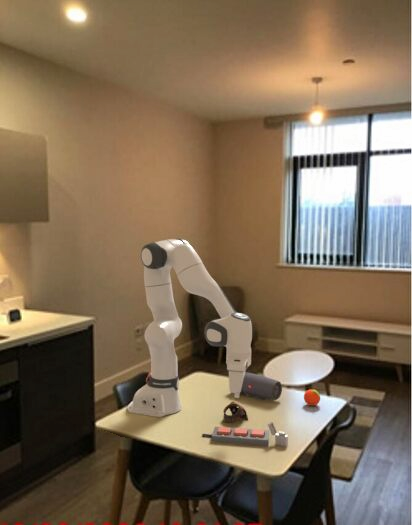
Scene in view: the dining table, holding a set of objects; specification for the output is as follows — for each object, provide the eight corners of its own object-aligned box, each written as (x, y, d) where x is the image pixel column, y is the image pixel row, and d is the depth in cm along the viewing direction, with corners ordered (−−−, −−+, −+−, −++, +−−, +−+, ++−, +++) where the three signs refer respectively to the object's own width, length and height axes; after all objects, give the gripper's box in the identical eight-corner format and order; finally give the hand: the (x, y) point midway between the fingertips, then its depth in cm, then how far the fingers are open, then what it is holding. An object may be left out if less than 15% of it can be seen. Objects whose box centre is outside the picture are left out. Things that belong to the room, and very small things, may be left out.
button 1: (217, 439, 175) (217, 431, 174) (218, 434, 178) (218, 427, 178) (229, 440, 174) (229, 432, 174) (230, 435, 177) (230, 427, 177)
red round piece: (325, 406, 208) (325, 390, 207) (314, 410, 204) (315, 394, 203) (310, 401, 214) (311, 385, 214) (300, 404, 210) (300, 388, 210)
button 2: (234, 440, 174) (234, 432, 173) (235, 436, 177) (235, 428, 177) (246, 441, 173) (246, 433, 173) (247, 437, 176) (247, 429, 176)
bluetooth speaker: (229, 393, 224) (229, 372, 223) (241, 388, 231) (241, 367, 230) (271, 405, 209) (271, 383, 208) (282, 399, 216) (282, 377, 215)
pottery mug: (253, 425, 190) (245, 410, 186) (231, 437, 189) (223, 422, 186) (244, 407, 201) (236, 392, 197) (223, 417, 200) (216, 403, 197)
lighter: (287, 447, 171) (288, 425, 170) (286, 449, 169) (286, 426, 169) (268, 442, 174) (269, 421, 173) (267, 444, 173) (267, 422, 172)
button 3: (250, 441, 173) (251, 433, 172) (251, 437, 176) (251, 429, 176) (263, 442, 172) (263, 434, 172) (263, 438, 176) (264, 430, 175)
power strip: (200, 443, 173) (200, 434, 173) (204, 433, 181) (204, 425, 181) (268, 448, 170) (268, 439, 169) (269, 438, 177) (269, 429, 177)
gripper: (232, 350, 184) (231, 385, 186) (226, 366, 164) (225, 406, 165) (249, 351, 183) (248, 387, 185) (245, 368, 163) (243, 408, 164)
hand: (237, 396), depth 175 cm, fingers closed
